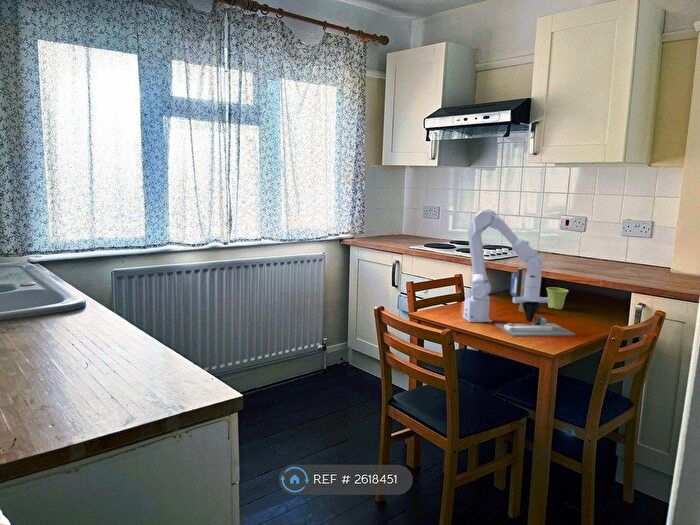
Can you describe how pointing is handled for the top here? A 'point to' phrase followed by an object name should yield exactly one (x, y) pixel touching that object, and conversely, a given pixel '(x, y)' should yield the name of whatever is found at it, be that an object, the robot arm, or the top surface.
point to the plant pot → (556, 297)
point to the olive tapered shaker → (521, 303)
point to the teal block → (543, 321)
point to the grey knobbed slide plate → (534, 330)
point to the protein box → (517, 283)
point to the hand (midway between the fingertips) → (529, 321)
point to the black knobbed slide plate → (537, 323)
